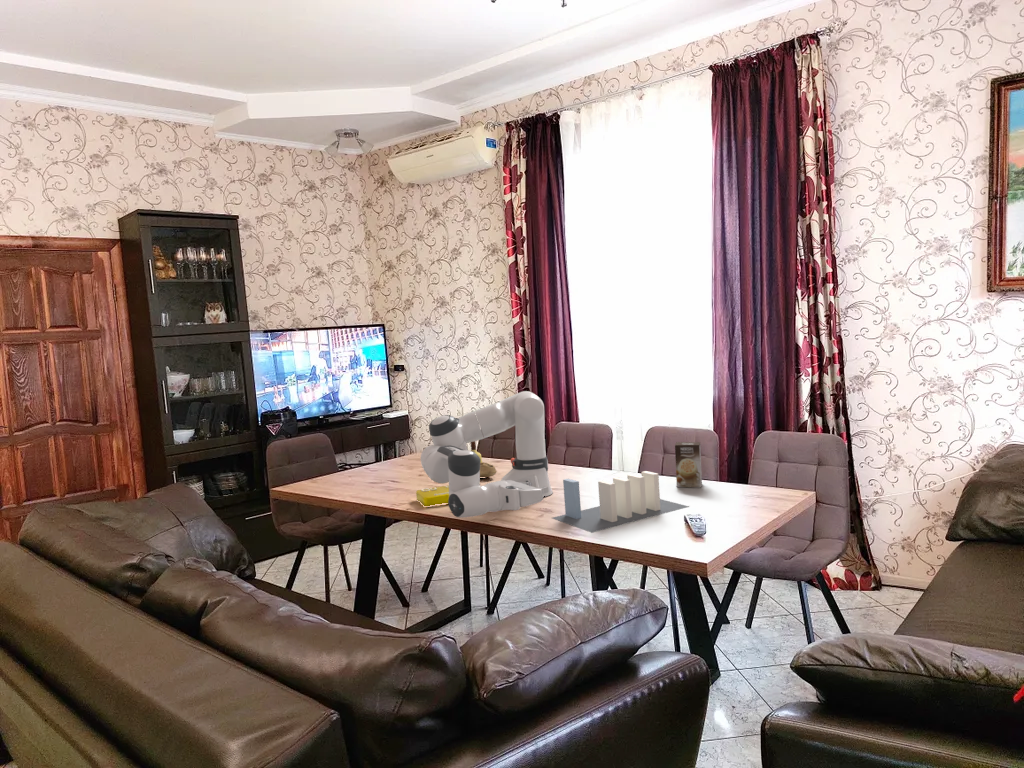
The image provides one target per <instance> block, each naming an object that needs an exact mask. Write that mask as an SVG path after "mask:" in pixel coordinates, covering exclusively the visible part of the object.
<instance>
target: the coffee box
mask: <svg viewBox="0 0 1024 768" xmlns="http://www.w3.org/2000/svg"><path fill="white" fill-rule="evenodd" d="M674 451H675V452H674V453H675V454H674V455H675V474H676V475H675V477H676V479H675V480H676V485H675V487H676V488H702V485H703V482H702V481H703V480H702V479H703V478H702V454H701V451H702V449H701V442H700V441H676V442H675V444H674Z"/></svg>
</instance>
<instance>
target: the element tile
mask: <svg viewBox="0 0 1024 768" xmlns="http://www.w3.org/2000/svg"><path fill="white" fill-rule="evenodd" d="M415 493H416V494H415V495H416V501H417V500H418V501H420V502H421V503H422V504H423V505H424V506H430V505H435V504H442V503H448V500H449V484H448V485H442V486H436V487H429V488H427V487H426V488H421V489H418V490H416V492H415Z"/></svg>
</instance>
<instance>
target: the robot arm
mask: <svg viewBox="0 0 1024 768" xmlns="http://www.w3.org/2000/svg"><path fill="white" fill-rule="evenodd" d="M545 415H546V414H545V404H544V401H543V400H542V399H541V397H539V396H538V395H536V394H535V393H534V392H532V391H529V390H528V391H527V390H524V391H520V392H518V393H515V394H513V395H511V396H509V397H505V398H504V399H502V400H499V401H497V402H495V403H492V404H490V405H486V406H484V407H482V408H481V407H480V408H479V409H476V410H475V409H474V410H473V411H470V412H467V413H465V414H464V415H462V416H460V417H456V416H453V415H449V414H443V415H440V416H437V417H436V418H434V419H433V420H431V422H430V423H429V424H428V430H429V434H430V436H431V440H432V443H433V444H430V445H428V446H426V447H425V448H424V449H423V450H422V451H421V454H420V464H421V467H422V469H423V471H424V472H425V474H426V475H427V477H429V479H430V480H431V481H433V482H434V483H436V484H437V483H438V484H442V485H443V484H448V485H449V500H448V504H449V505H448V508H449V511H450V512H451V513H452V515H453V516H454V517H456V518H470V517H471V518H473V517H478V516H483V515H485V514H486V513H489V512H490V513H493V512H494V513H495V512H499V511H518V510H520V509H521V508H522V507H529V506H531V505H532V506H533V505H535V504H539V503H541V502H542V501H543V500H544V498H545V497H548V496H550V495H552V494H553V493H554V491H553V489H552V487H551V486H552V485H551V481H550V478H549V477H550V476H549V472H548V471H549V461H548V456H547V455H546V454H547V453H546V439H545V430H546V427H545V425H546V424H545V423H546V422H545ZM513 427H515V449H516V457H515V458H514V457H512V458H510V464H511V467H512V468H511V469H510V470H509V471H508V472H507V473H506V474H505V475H504V476H503V477H501V479H500V480H497V481H492V482H488V483H485V484H484V485H481V483H480V481H481V479H480V462H481V459H480V457H479V456H478V455H477V454H476V453H475V452H473V451H471V450H469V448H468V445H467V444H469V443H470V444H471V442H474V441H475V442H477V441H481V440H483V439H487V438H488V437H492V436H494V435H497V434H500V433H502V432H505V431H507V430H509V429H511V428H513ZM544 496H545V497H544Z"/></svg>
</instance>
